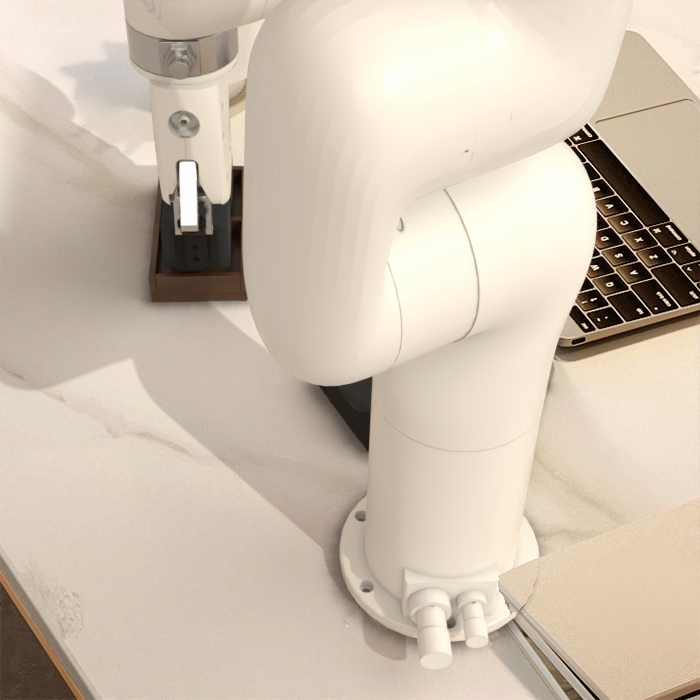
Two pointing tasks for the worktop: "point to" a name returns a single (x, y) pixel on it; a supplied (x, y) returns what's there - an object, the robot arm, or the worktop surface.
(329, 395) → the vhs tape
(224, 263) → the block
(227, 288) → the partitioned wooden crate
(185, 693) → the worktop surface
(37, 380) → the worktop surface
